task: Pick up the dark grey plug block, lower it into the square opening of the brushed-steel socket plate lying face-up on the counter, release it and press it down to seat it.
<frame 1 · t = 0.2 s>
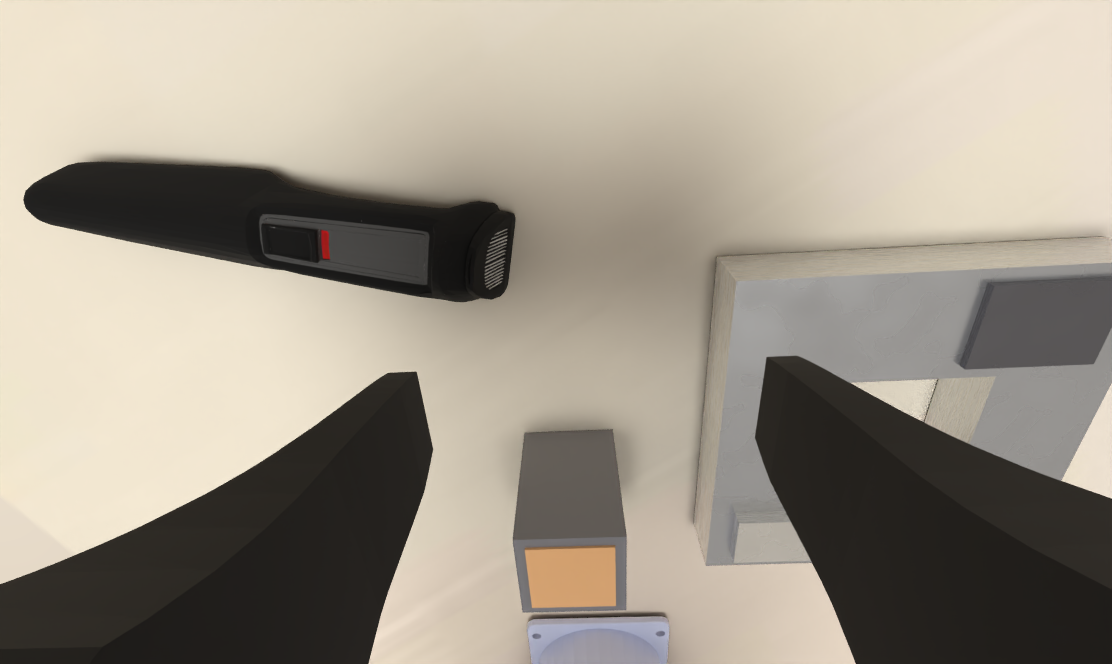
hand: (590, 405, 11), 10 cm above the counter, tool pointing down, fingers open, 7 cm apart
socket plate: (866, 402, 22), on the counter
plug: (570, 464, 24), on the counter
electric trimmer: (319, 223, 20), on the counter
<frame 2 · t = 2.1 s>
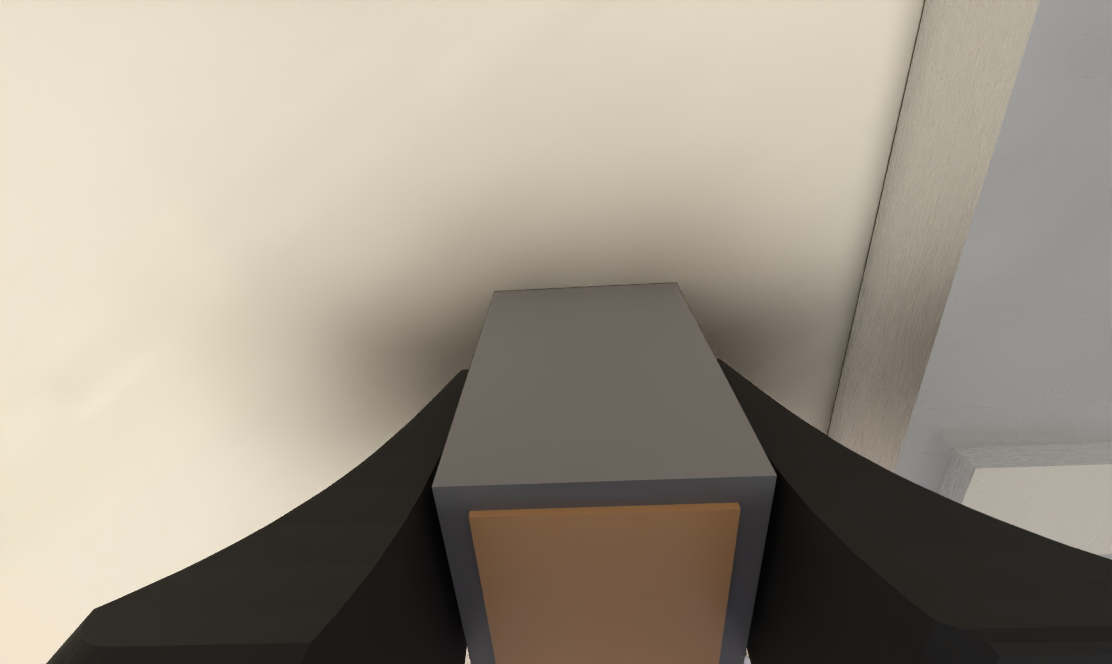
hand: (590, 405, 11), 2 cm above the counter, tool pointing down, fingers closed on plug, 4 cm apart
plug: (587, 365, 12), on the counter, touching gripper
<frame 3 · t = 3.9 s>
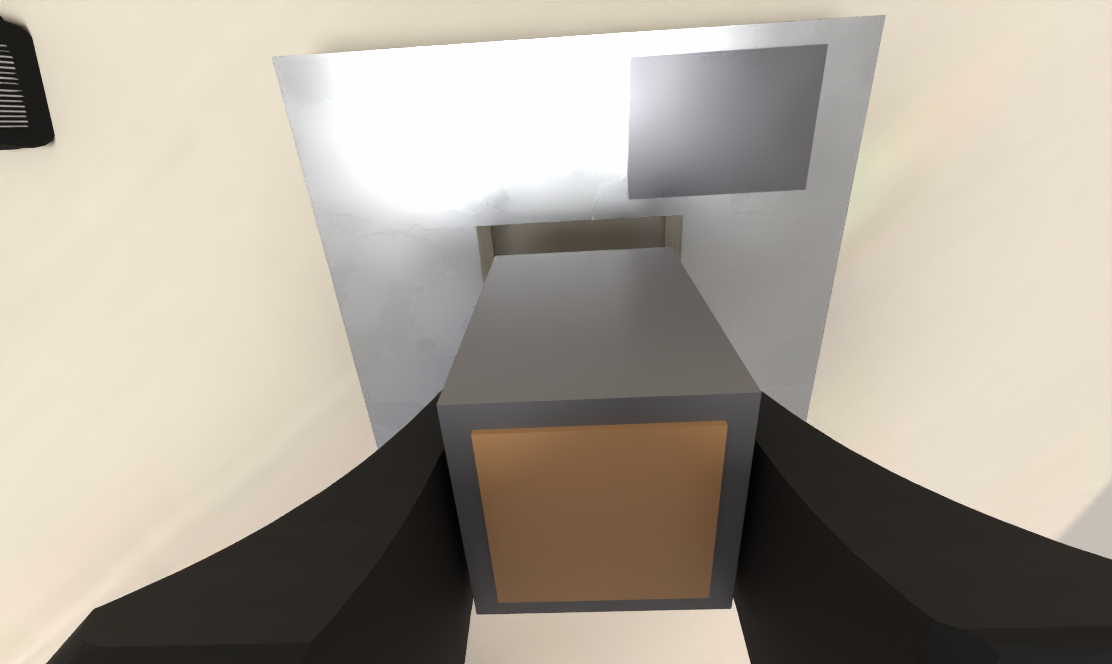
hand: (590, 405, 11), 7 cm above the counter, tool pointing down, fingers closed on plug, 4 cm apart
socket plate: (580, 283, 17), on the counter
plug: (585, 330, 13), point 5 cm above the counter, touching gripper
when the fingers open (3 cm above the counter, at t = 5.0 s): plug stays where it is, resting in socket plate.
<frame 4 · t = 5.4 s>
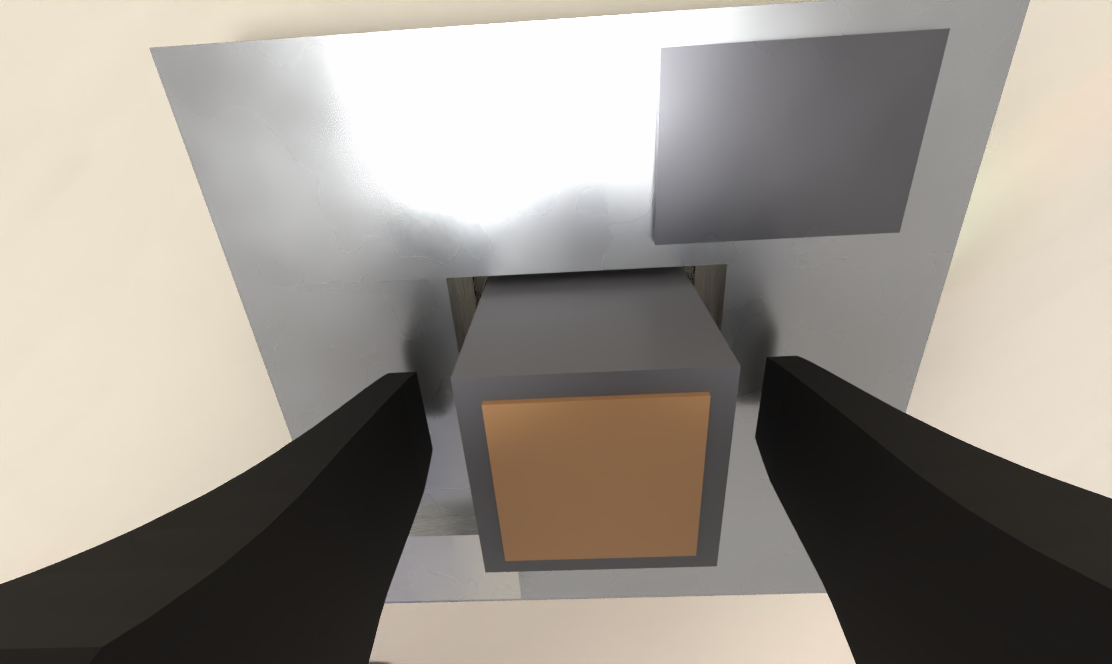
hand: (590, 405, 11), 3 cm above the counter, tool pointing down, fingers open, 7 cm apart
socket plate: (585, 336, 14), on the counter
plug: (584, 316, 13), resting in socket plate
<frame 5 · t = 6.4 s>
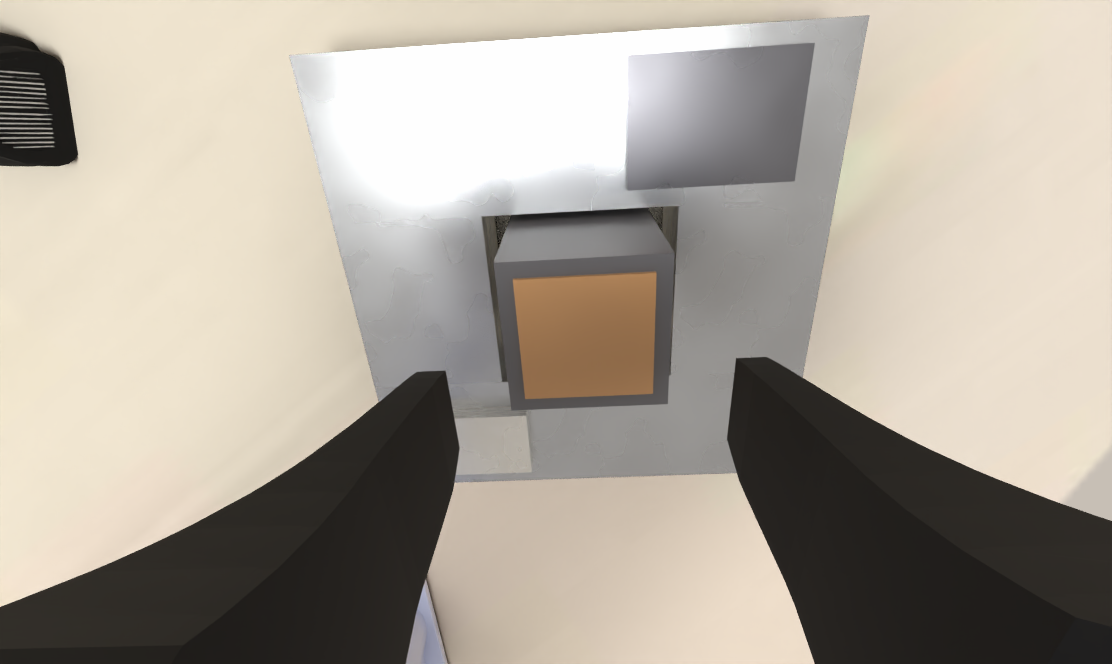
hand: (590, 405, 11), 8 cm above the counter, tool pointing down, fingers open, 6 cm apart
socket plate: (580, 272, 18), on the counter
plug: (579, 257, 18), resting in socket plate
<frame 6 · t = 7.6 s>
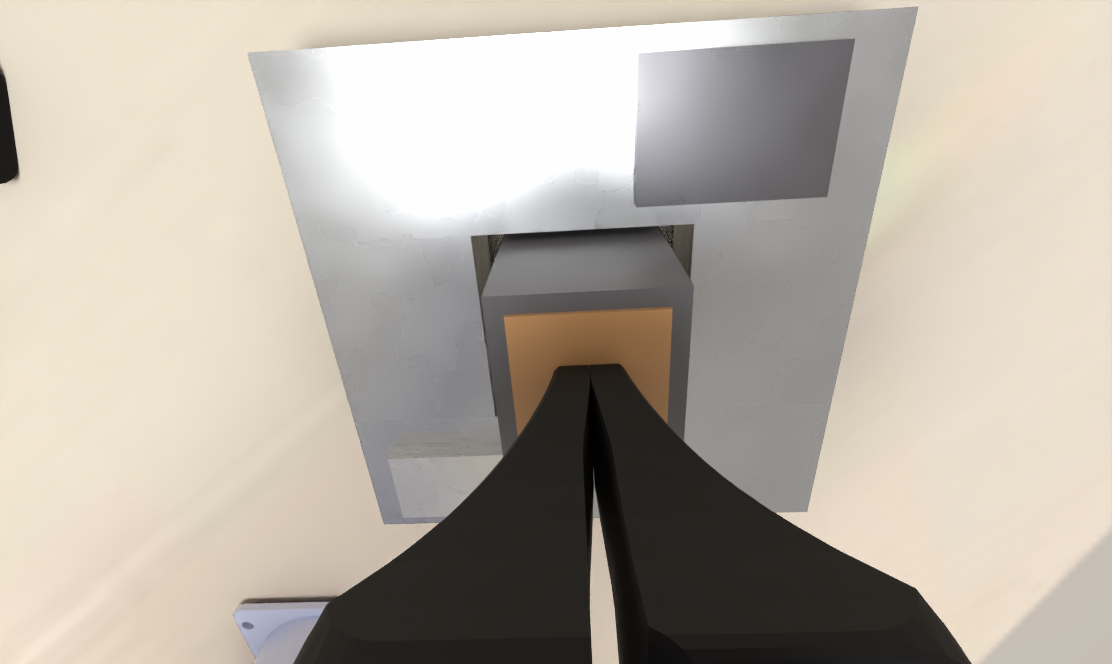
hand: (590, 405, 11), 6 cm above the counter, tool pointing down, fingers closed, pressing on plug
socket plate: (582, 293, 16), on the counter
plug: (581, 277, 16), resting in socket plate, touching gripper
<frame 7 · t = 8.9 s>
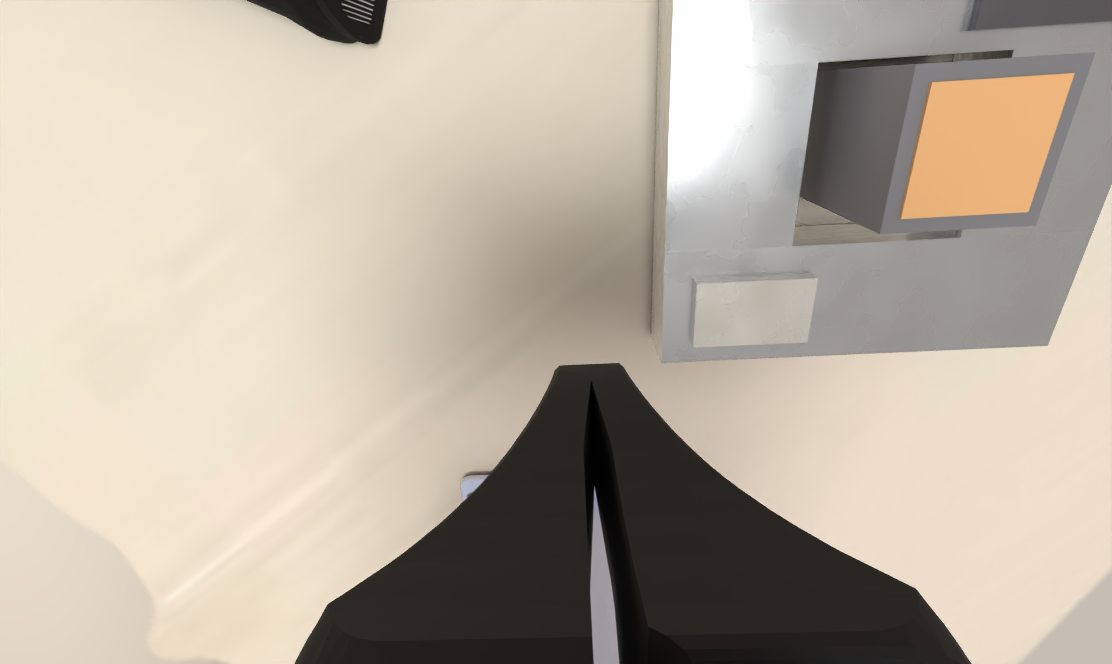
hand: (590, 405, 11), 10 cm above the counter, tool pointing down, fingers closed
socket plate: (853, 147, 18), on the counter
plug: (855, 130, 18), resting in socket plate
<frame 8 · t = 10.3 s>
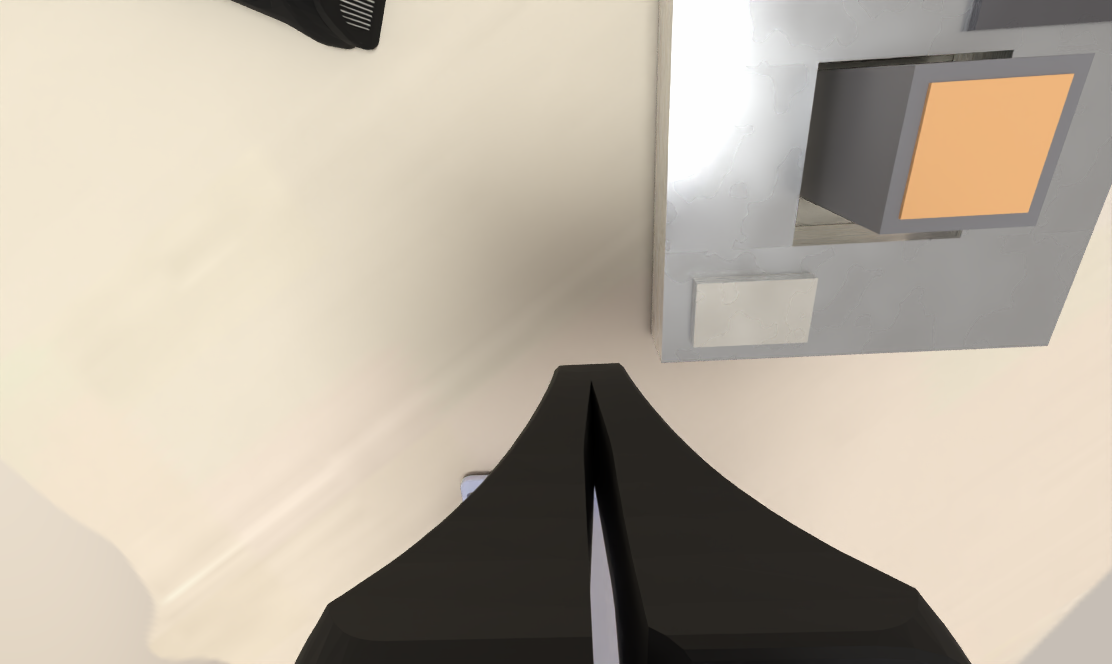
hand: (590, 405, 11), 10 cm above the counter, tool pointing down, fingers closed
socket plate: (853, 147, 18), on the counter
plug: (855, 130, 18), resting in socket plate
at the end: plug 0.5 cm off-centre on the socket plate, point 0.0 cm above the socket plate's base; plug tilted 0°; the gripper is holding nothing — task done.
